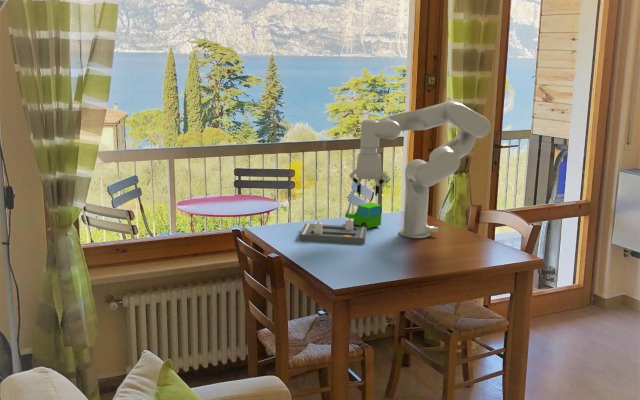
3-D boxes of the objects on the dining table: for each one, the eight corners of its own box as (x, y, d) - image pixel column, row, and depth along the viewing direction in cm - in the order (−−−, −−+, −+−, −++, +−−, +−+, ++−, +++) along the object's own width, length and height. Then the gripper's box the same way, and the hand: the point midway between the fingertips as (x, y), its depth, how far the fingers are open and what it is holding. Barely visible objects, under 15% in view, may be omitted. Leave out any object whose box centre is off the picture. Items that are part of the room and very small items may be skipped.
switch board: (366, 232, 267) (366, 226, 266) (364, 244, 252) (364, 237, 251) (305, 229, 270) (305, 223, 269) (299, 240, 255) (299, 233, 254)
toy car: (360, 220, 286) (361, 199, 284) (382, 227, 277) (383, 204, 274) (344, 224, 279) (345, 202, 277) (366, 231, 270) (367, 208, 268)
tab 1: (322, 234, 259) (322, 221, 257) (321, 236, 256) (321, 223, 254) (314, 234, 259) (315, 221, 258) (313, 236, 256) (314, 223, 255)
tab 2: (353, 230, 265) (353, 218, 264) (352, 232, 262) (353, 220, 261) (345, 230, 265) (346, 217, 264) (345, 232, 262) (345, 219, 261)
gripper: (391, 150, 258) (389, 193, 262) (348, 148, 260) (347, 191, 264) (391, 153, 250) (388, 197, 255) (347, 151, 252) (345, 195, 257)
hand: (367, 194), depth 259 cm, fingers open, 6 cm apart
